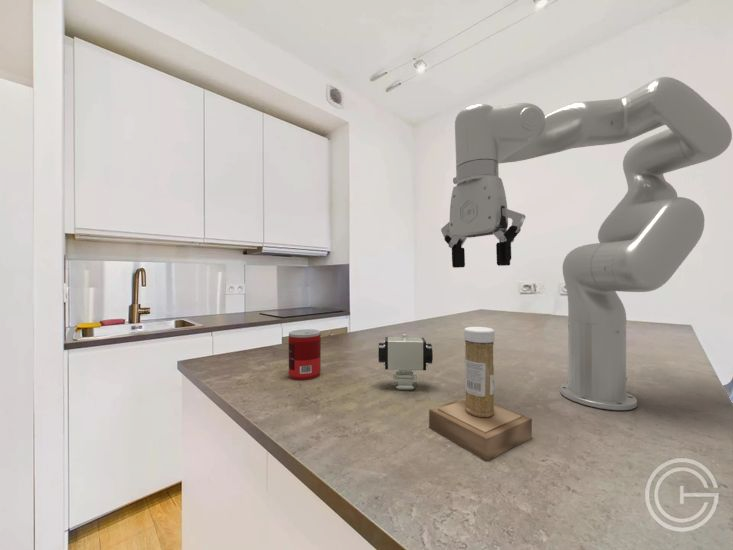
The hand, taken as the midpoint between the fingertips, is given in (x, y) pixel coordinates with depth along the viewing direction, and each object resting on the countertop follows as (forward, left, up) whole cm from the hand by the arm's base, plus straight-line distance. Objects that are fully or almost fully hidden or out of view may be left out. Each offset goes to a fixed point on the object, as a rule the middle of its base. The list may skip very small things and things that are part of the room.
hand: (479, 266), depth 58 cm
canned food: (+21, -36, -27) cm, 50 cm away
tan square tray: (+8, +6, -27) cm, 29 cm away
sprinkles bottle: (+8, +6, -24) cm, 26 cm away
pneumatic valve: (+5, -16, -27) cm, 32 cm away
